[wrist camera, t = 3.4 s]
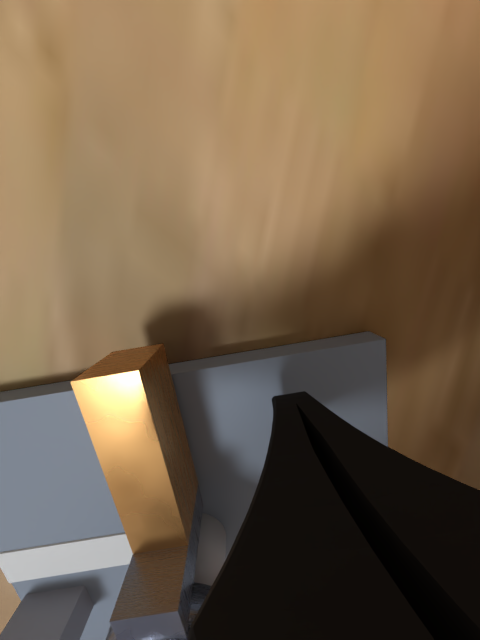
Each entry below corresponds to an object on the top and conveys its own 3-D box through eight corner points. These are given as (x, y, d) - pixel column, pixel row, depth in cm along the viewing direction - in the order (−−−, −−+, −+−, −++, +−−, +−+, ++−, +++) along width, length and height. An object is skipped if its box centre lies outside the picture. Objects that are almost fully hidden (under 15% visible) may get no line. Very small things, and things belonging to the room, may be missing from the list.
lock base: (378, 595, 15) (430, 712, 11) (75, 642, 15) (19, 774, 11) (369, 331, 11) (446, 367, 7) (-47, 399, 11) (-203, 473, 7)
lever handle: (253, 575, 12) (263, 731, 8) (154, 590, 12) (114, 754, 8) (203, 336, 9) (180, 393, 5) (72, 358, 9) (-57, 431, 5)
